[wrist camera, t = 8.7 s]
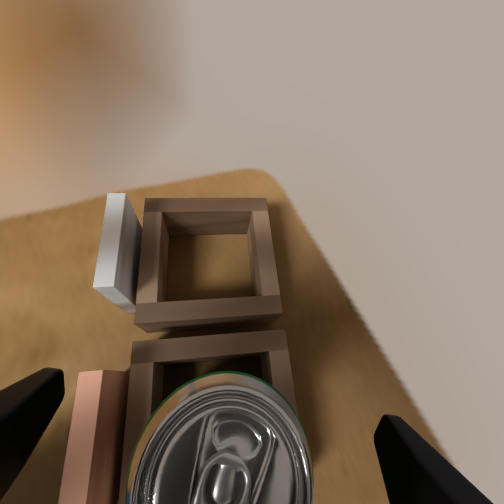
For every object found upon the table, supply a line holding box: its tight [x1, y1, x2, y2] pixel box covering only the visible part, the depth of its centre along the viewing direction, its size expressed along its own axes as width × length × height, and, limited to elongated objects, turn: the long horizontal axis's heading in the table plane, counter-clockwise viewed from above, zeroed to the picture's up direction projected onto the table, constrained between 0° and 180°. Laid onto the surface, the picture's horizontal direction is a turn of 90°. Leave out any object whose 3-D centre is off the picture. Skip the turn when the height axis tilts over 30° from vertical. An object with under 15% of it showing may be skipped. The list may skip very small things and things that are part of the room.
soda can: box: [125, 371, 314, 504], centre depth 12 cm, size 5×5×12 cm
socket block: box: [58, 193, 298, 504], centre depth 16 cm, size 19×10×6 cm, turn 6°
